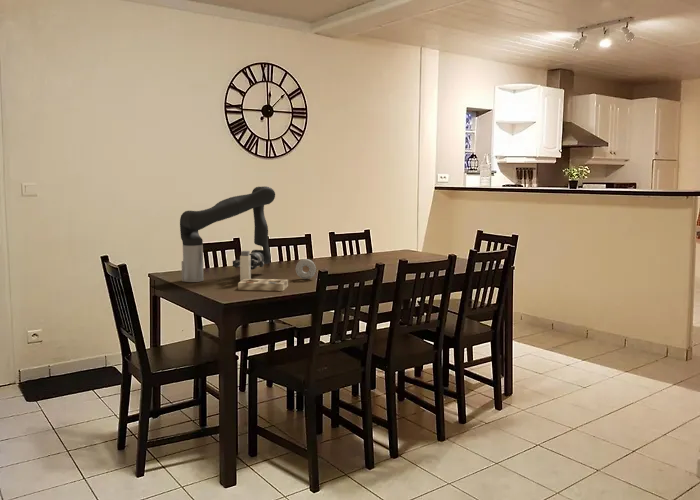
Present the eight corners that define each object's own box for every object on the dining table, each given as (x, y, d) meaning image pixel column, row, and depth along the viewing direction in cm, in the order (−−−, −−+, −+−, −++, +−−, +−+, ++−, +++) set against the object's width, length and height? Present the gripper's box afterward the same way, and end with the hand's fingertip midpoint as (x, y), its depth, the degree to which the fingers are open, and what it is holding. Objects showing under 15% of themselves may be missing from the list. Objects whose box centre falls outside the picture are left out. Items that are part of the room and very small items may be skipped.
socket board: (238, 289, 277) (238, 282, 276) (244, 285, 288) (244, 278, 288) (283, 290, 275) (283, 283, 275) (288, 286, 287) (288, 278, 286)
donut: (295, 279, 305) (295, 259, 304) (296, 278, 309) (296, 258, 308) (315, 279, 305) (315, 259, 303) (316, 278, 308) (316, 258, 307)
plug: (240, 283, 292) (240, 251, 290) (242, 282, 296) (242, 250, 294) (248, 283, 292) (248, 251, 290) (250, 282, 296) (250, 250, 294)
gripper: (238, 253, 308) (229, 257, 292) (267, 253, 307) (259, 257, 291) (238, 268, 309) (229, 273, 293) (267, 268, 308) (260, 273, 292)
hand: (244, 265), depth 292 cm, fingers open, 8 cm apart
